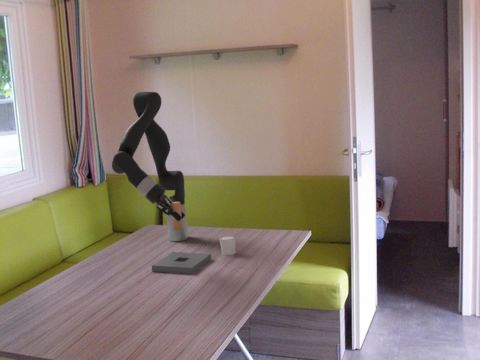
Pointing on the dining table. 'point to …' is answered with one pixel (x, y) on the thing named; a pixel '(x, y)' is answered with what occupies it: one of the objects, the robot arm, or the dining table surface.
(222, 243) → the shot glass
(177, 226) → the peg
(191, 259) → the peg board
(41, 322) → the dining table surface
